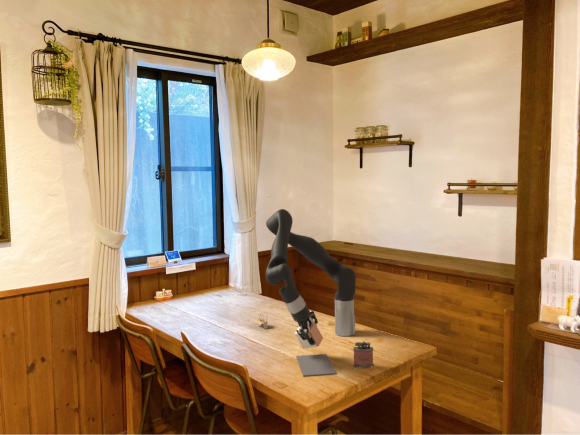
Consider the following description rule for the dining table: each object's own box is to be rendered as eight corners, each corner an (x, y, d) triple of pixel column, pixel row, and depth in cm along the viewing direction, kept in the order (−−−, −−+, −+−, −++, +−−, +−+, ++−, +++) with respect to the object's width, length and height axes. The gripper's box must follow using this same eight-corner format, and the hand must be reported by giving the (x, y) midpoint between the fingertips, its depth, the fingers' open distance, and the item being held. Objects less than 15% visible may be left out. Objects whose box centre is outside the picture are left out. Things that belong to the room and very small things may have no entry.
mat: (326, 354, 191) (326, 353, 191) (336, 374, 172) (336, 372, 172) (296, 357, 189) (296, 355, 189) (303, 376, 171) (303, 375, 170)
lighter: (372, 363, 181) (372, 340, 180) (374, 367, 178) (374, 343, 177) (352, 364, 181) (352, 340, 180) (354, 368, 177) (354, 343, 177)
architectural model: (261, 330, 224) (261, 316, 224) (255, 326, 230) (254, 313, 230) (267, 329, 226) (267, 315, 226) (261, 325, 232) (260, 311, 231)
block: (294, 333, 187) (309, 331, 182) (299, 325, 191) (314, 322, 187) (303, 348, 189) (318, 346, 184) (308, 340, 193) (323, 337, 189)
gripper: (296, 298, 191) (314, 330, 195) (283, 319, 180) (302, 352, 183) (311, 295, 187) (328, 327, 191) (297, 316, 176) (317, 350, 179)
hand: (315, 339), depth 187 cm, fingers closed on block, 5 cm apart
